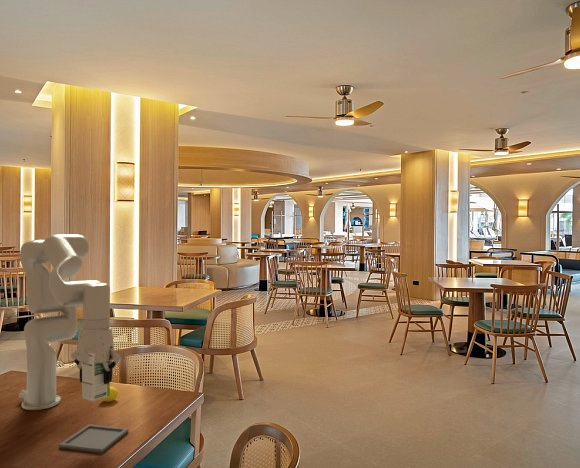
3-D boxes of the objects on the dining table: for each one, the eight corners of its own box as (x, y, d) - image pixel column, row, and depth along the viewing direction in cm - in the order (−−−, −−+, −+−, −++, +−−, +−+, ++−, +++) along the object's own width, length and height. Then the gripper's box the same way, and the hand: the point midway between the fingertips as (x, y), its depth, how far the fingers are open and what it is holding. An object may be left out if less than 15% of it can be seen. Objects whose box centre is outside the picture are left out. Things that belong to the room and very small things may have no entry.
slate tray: (59, 448, 133) (59, 444, 133) (88, 427, 147) (88, 424, 146) (102, 453, 130) (102, 449, 130) (128, 432, 144) (128, 428, 144)
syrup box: (93, 402, 134) (93, 353, 134) (81, 398, 137) (81, 350, 137) (110, 396, 139) (110, 349, 139) (97, 392, 142) (98, 346, 142)
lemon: (115, 398, 173) (117, 384, 174) (119, 403, 169) (121, 388, 170) (96, 399, 169) (98, 385, 170) (99, 404, 165) (102, 389, 165)
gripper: (62, 324, 136) (62, 383, 136) (115, 327, 133) (114, 388, 133) (78, 320, 143) (78, 375, 143) (129, 322, 140) (128, 380, 140)
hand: (95, 381), depth 138 cm, fingers closed on syrup box, 7 cm apart
